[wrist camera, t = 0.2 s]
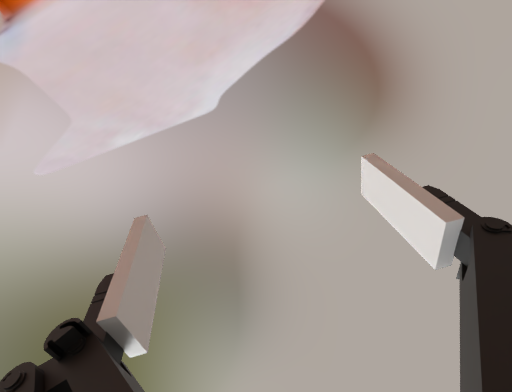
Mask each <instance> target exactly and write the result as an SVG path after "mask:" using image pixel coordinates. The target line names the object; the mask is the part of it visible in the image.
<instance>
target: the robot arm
mask: <svg viewBox="0 0 512 392" xmlns="http://www.w3.org/2000/svg"><path fill="white" fill-rule="evenodd" d="M361 194H362V195H363V196H364V197H365V198H366V199H367V200H368V202H369V203H370V204H371V205H372V206H373V207H374V208H375V209H376V210H377V211H378V212H379V213H380V214H381V215H382V216H383V217H384V218H385V219H386V220H387V221H388V222H389V223H390V224H391V225H392V226H393V227H394V228H395V229H396V230H397V231H398V232H399V233H400V234H401V235H402V236H403V237H404V238H405V240H407V241H408V243H409V244H410V245H411V246H412V247H413V248H414V249H415V250H416V251H417V252H418V253H419V254H420V255H421V256H422V257H423V258H424V259H425V260H426V261H427V262H428V263H429V264H430V265H431V266H432V267H433V268H434V269H435V270H437V269H440V268H444V267H447V266H451V265H452V261H453V258H454V256H455V257H456V258H457V259H459V260H460V261H461V264H460V268H459V271H458V274H457V277H456V279H460V392H512V225H510V224H509V223H508V222H506V221H503V220H501V219H498V218H493V217H480V216H479V215H477V214H476V213H474V212H473V211H471V210H470V209H468V208H467V207H465V206H464V205H462V204H460V203H459V202H458V201H455V199H453V198H452V197H450V196H448V195H447V194H446V193H444V192H443V191H441V190H440V189H437V188H434V187H431V186H429V185H428V186H424V187H421V186H419V185H418V184H417V183H415V182H414V181H412V180H411V179H410V178H408V177H407V176H405V175H404V174H403V173H401V172H400V171H398V170H397V169H395V168H394V167H393V166H391V165H390V164H388V163H387V162H386V161H384V160H383V159H381V158H380V157H378V156H377V155H376V154H374V153H371V154H368V155H364V156H362V157H361ZM165 249H166V248H165V246H164V244H163V243H162V241H161V239H160V237H159V235H158V233H157V231H156V230H155V228H154V226H153V224H152V222H151V221H150V219H149V217H148V215H144V216H140V217H137V218H134V221H133V224H132V226H131V229H130V232H129V235H128V237H127V240H126V243H125V245H124V248H123V250H122V253H121V256H120V259H119V261H118V265H117V267H116V269H115V272H114V273H113V274H110V275H106V276H105V277H104V279H103V280H102V281H101V282H100V284H99V285H98V287H97V290H96V292H95V296H94V297H93V299H92V302H91V303H92V304H90V307H89V309H88V312H87V314H86V316H85V319H84V321H83V322H82V321H81V320H80V319H78V318H71V319H69V320H66V321H64V322H63V323H61V324H60V325H58V326H57V327H56V328H55V329H54V330H53V331H52V332H51V333H50V334H49V336H48V337H47V338H46V341H45V343H44V351H46V352H47V353H48V354H49V355H51V356H52V357H53V358H52V359H50V360H48V361H47V362H45V363H43V364H41V365H40V366H36V365H35V364H33V363H31V362H26V363H22V364H20V365H19V366H16V367H15V368H14V369H12V370H11V371H10V372H9V373H7V374H6V375H5V377H4V378H3V379H2V380H1V381H0V392H144V390H143V389H142V387H141V386H140V385H139V383H138V382H137V381H136V379H135V378H134V376H133V375H132V374H131V372H130V371H129V369H128V368H127V367H126V365H125V364H124V363H123V362H122V361H121V360H122V356H123V352H125V353H126V354H127V355H128V356H129V357H134V356H137V355H141V354H145V353H147V352H148V347H149V341H150V335H151V329H152V324H153V318H154V312H155V307H156V301H157V295H158V289H159V284H160V278H161V272H162V266H163V261H164V255H165Z"/></svg>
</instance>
